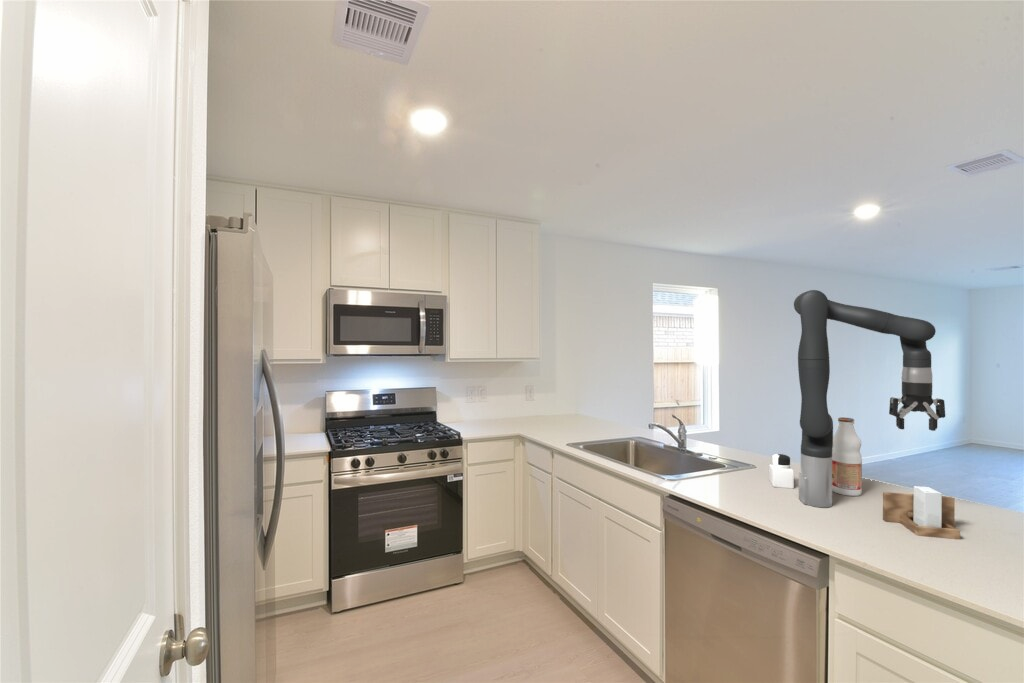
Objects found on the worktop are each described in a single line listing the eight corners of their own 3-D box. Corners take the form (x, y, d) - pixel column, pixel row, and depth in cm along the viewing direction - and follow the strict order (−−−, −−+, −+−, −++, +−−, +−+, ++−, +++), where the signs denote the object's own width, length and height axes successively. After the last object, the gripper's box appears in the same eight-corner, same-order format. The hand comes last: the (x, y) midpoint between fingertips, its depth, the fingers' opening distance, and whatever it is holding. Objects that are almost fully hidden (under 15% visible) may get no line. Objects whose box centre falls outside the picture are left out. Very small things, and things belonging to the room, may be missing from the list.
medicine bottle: (789, 483, 180) (789, 453, 180) (793, 489, 173) (793, 458, 173) (769, 481, 182) (769, 452, 182) (773, 487, 175) (773, 456, 175)
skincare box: (942, 533, 133) (942, 493, 133) (925, 532, 134) (925, 492, 134) (928, 524, 139) (929, 486, 139) (912, 523, 140) (912, 485, 140)
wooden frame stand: (901, 534, 134) (902, 504, 134) (882, 519, 144) (882, 491, 144) (976, 540, 129) (976, 509, 129) (951, 525, 139) (951, 496, 139)
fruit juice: (847, 497, 163) (847, 421, 163) (824, 489, 173) (824, 416, 172) (868, 495, 165) (868, 420, 165) (844, 486, 175) (844, 415, 174)
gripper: (897, 381, 146) (897, 431, 146) (950, 382, 142) (950, 433, 142) (885, 379, 153) (884, 426, 153) (935, 380, 149) (935, 428, 150)
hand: (916, 429), depth 148 cm, fingers open, 8 cm apart
